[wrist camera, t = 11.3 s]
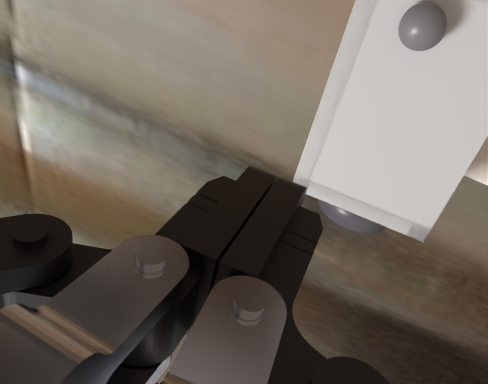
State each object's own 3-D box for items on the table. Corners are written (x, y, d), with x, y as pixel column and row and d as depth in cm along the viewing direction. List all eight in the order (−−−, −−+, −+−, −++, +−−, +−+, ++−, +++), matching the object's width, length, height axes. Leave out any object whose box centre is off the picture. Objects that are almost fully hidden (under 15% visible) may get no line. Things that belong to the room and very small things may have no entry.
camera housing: (390, -50, 31) (371, -56, 22) (532, -11, 29) (577, 1, 20) (312, 162, 41) (277, 220, 32) (413, 202, 39) (407, 276, 30)
